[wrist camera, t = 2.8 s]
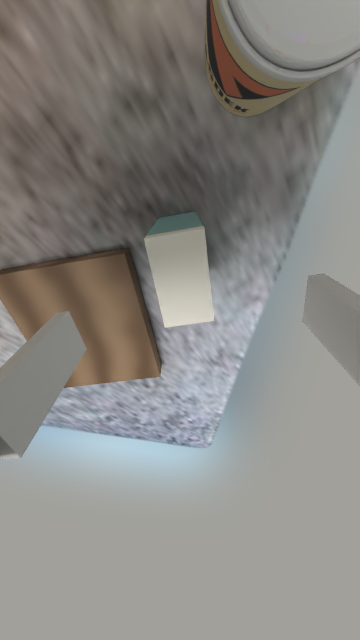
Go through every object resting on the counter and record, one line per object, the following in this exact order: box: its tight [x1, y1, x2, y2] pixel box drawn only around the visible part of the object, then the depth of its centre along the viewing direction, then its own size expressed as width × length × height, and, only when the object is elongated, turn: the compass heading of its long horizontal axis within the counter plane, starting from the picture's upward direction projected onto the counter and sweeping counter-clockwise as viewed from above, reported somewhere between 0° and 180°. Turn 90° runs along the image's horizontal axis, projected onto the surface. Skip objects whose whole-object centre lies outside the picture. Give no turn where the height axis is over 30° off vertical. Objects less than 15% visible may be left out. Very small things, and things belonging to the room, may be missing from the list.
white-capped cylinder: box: [205, 0, 360, 117], centre depth 13 cm, size 9×9×12 cm
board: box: [0, 248, 162, 388], centre depth 30 cm, size 16×18×2 cm
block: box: [144, 211, 214, 328], centre depth 21 cm, size 4×7×11 cm, turn 10°
